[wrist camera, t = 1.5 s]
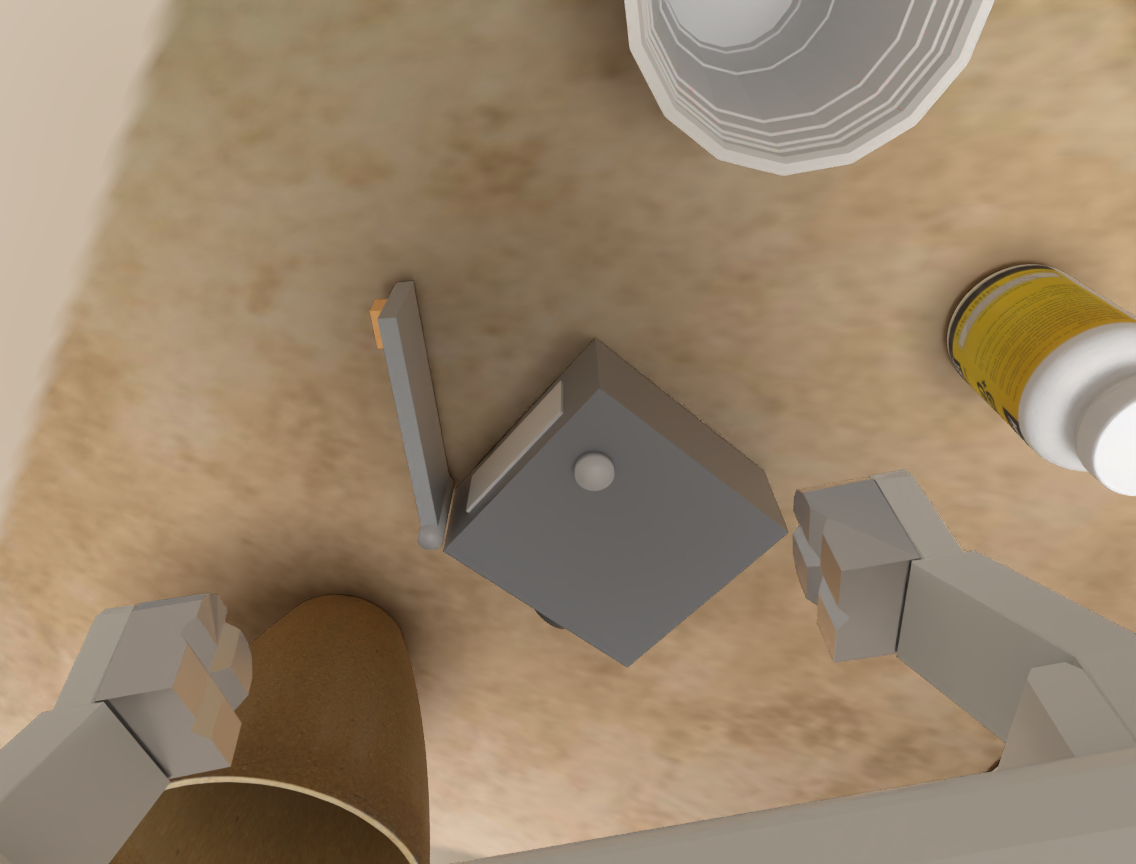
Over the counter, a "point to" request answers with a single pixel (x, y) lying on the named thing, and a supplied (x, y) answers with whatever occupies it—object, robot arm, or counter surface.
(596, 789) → the counter surface
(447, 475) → the side door
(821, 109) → the plastic cup
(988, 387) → the pill bottle
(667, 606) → the box
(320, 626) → the plant pot
